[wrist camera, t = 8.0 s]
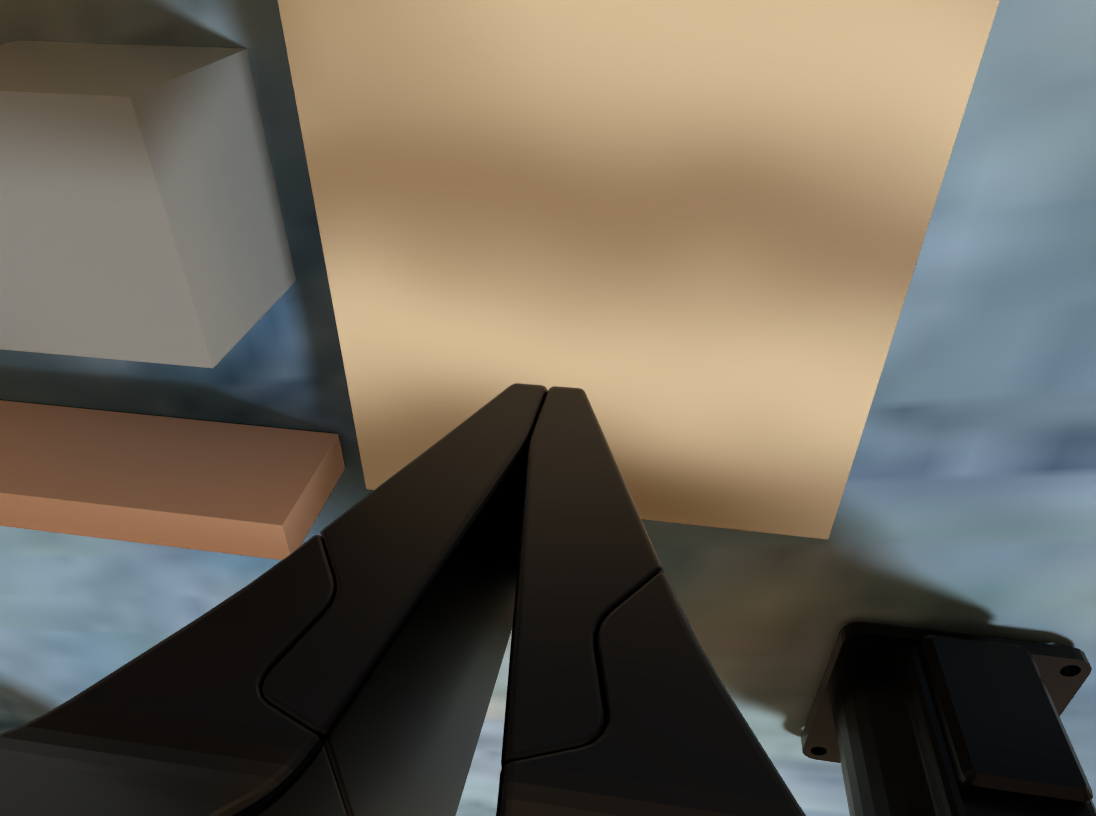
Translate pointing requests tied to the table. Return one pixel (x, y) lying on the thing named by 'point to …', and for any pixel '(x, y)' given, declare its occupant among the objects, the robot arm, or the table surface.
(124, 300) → the grey square block
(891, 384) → the table surface
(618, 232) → the bench board
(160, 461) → the fence
